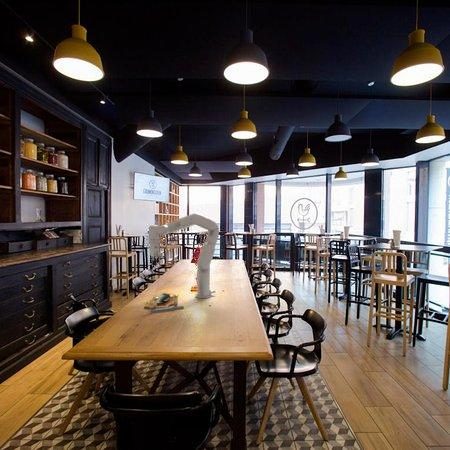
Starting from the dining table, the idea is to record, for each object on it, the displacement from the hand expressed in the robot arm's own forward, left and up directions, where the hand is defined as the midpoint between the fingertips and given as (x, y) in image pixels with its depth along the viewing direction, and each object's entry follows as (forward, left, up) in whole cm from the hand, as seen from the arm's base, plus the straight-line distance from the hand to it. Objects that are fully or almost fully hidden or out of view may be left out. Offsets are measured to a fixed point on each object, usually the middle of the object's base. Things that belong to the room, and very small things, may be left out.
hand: (154, 265), depth 236 cm
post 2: (-5, +35, -24) cm, 42 cm away
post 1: (+9, +35, -24) cm, 43 cm away
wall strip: (+2, +37, -24) cm, 45 cm away
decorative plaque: (0, +20, -25) cm, 32 cm away
